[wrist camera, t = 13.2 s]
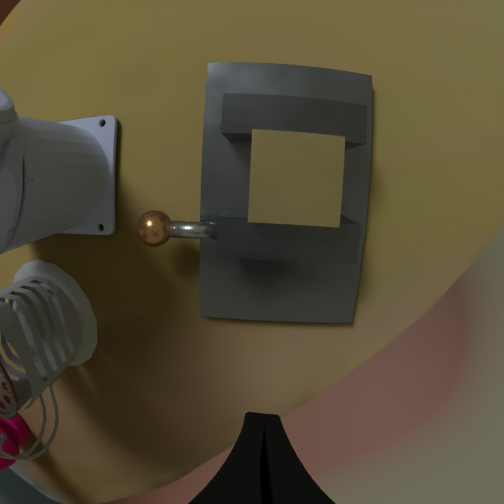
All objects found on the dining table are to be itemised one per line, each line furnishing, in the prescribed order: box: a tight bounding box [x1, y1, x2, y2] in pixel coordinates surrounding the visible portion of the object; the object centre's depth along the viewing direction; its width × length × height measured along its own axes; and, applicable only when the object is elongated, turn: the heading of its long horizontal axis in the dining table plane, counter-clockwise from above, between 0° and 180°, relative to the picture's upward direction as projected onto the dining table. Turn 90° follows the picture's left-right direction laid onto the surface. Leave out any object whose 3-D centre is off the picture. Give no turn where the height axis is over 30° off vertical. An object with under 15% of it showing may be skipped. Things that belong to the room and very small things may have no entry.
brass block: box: [248, 129, 345, 227], centre depth 16 cm, size 4×4×5 cm
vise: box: [200, 62, 372, 323], centre depth 17 cm, size 10×16×4 cm, turn 177°
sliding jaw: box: [137, 209, 361, 264], centre depth 17 cm, size 12×2×4 cm, turn 87°
